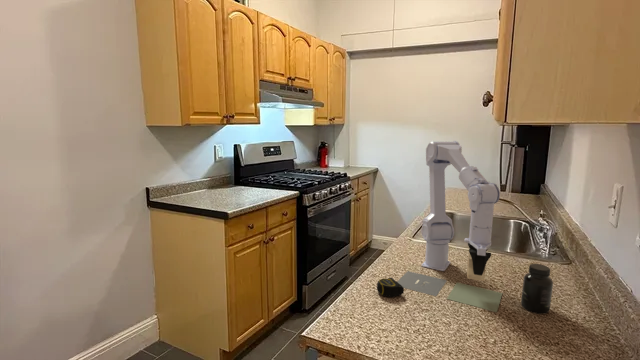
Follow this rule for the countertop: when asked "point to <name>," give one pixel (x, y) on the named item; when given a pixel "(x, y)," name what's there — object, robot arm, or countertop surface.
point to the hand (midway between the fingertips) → (477, 271)
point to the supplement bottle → (537, 289)
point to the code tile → (421, 283)
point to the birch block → (470, 271)
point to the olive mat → (475, 296)
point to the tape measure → (389, 287)
